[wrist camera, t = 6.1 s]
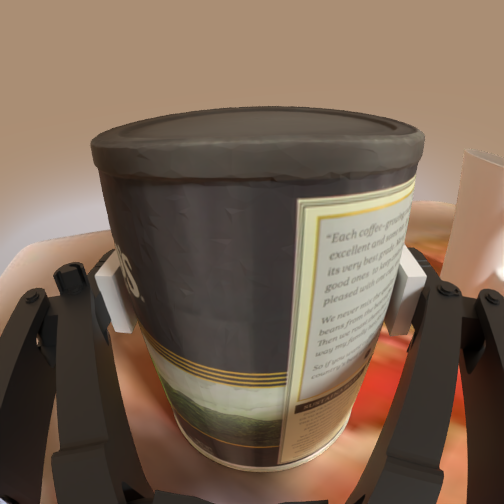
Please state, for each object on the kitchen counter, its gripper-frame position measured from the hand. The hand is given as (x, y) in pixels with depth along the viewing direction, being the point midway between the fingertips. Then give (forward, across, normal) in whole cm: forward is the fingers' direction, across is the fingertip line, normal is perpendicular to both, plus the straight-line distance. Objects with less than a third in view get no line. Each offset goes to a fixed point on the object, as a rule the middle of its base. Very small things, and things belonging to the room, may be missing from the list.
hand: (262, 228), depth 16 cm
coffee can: (-4, 0, -8) cm, 9 cm away
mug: (+3, +18, -8) cm, 20 cm away
